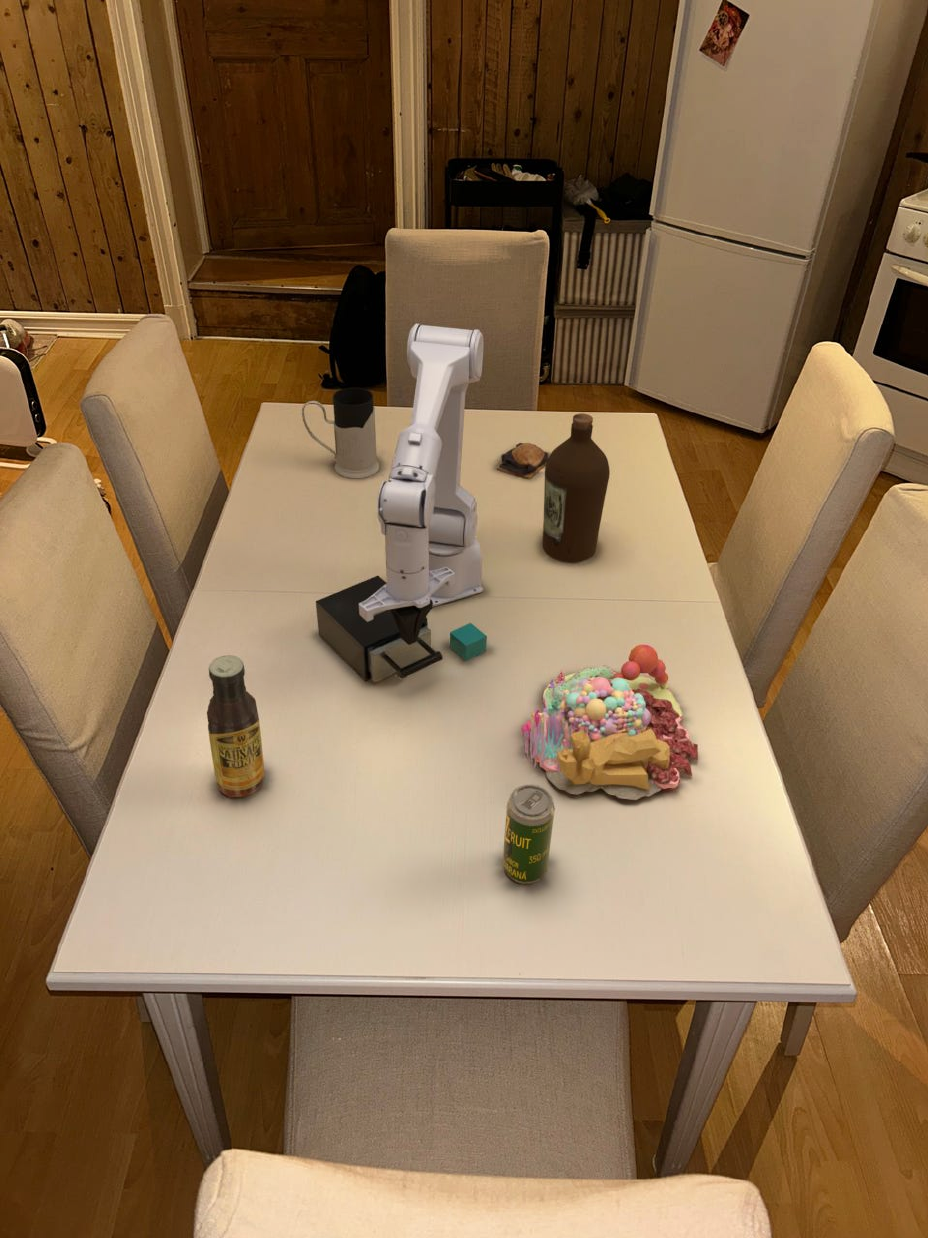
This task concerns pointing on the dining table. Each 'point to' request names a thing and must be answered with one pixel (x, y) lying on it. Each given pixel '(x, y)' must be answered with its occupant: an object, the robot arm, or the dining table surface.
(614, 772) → the candy landscape model
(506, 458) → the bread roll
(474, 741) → the dining table surface
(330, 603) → the black storage box
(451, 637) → the block
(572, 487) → the olive oil
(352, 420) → the glass holder
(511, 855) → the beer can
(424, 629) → the drawer
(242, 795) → the sauce bottle
